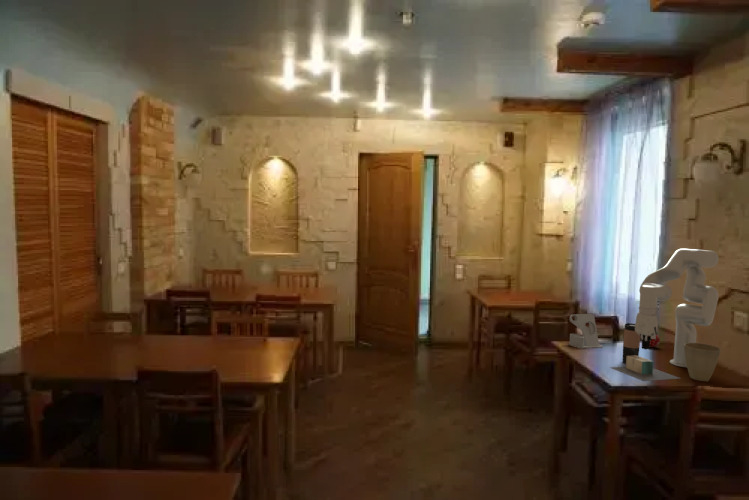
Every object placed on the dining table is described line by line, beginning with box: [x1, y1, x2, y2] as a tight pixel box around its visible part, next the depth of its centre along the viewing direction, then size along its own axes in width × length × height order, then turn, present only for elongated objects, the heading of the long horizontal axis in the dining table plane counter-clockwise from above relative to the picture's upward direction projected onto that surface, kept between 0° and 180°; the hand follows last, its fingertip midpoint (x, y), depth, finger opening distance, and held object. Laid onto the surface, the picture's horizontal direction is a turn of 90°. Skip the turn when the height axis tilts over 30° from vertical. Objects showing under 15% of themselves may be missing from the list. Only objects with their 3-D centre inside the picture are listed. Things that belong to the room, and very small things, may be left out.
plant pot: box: [684, 342, 722, 382], centre depth 263 cm, size 15×15×16 cm
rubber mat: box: [609, 366, 681, 382], centre depth 270 cm, size 22×22×1 cm
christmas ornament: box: [648, 334, 661, 348], centre depth 327 cm, size 9×9×10 cm
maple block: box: [625, 355, 654, 374], centre depth 273 cm, size 6×6×11 cm
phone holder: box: [568, 313, 603, 349], centre depth 324 cm, size 17×10×18 cm, turn 109°
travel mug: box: [622, 322, 641, 365], centre depth 289 cm, size 8×8×20 cm
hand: (645, 348), depth 270 cm, fingers closed
